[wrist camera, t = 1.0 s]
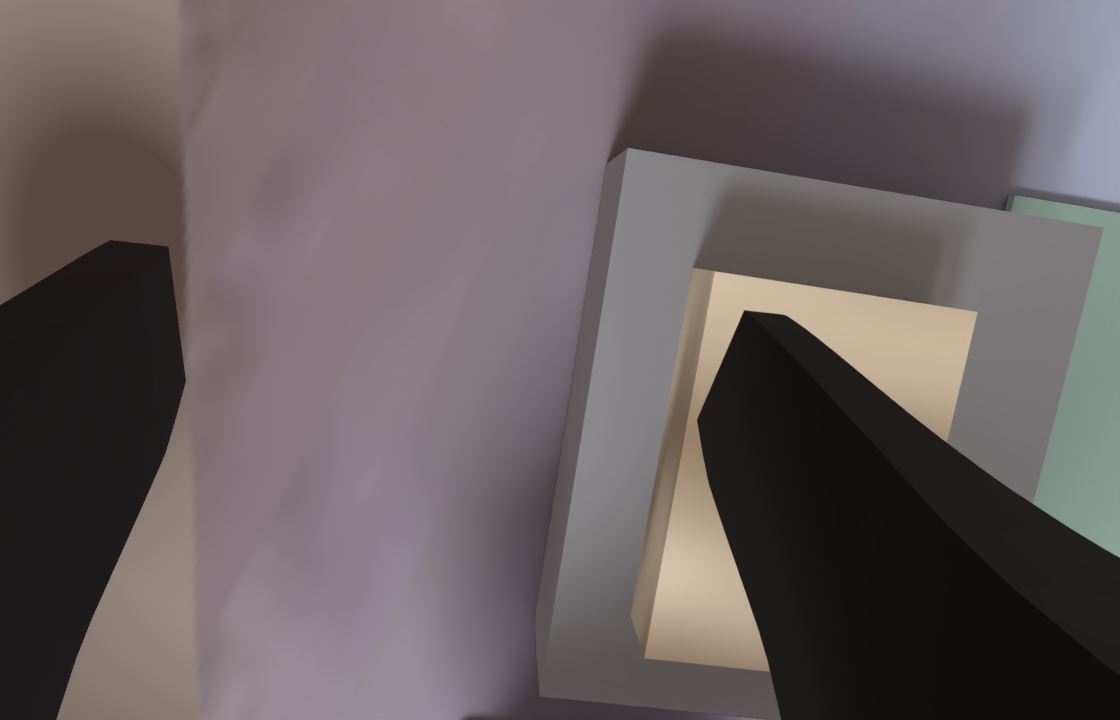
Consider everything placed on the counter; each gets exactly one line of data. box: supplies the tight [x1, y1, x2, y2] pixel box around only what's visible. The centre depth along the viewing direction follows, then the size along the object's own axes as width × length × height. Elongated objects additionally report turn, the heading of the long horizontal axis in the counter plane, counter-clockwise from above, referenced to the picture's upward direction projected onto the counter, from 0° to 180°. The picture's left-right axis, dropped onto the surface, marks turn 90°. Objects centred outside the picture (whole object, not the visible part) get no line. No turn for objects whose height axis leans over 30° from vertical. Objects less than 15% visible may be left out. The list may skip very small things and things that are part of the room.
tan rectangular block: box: [631, 268, 978, 672], centre depth 18 cm, size 9×6×2 cm, turn 171°
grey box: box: [534, 148, 1104, 720], centre depth 21 cm, size 14×12×4 cm
